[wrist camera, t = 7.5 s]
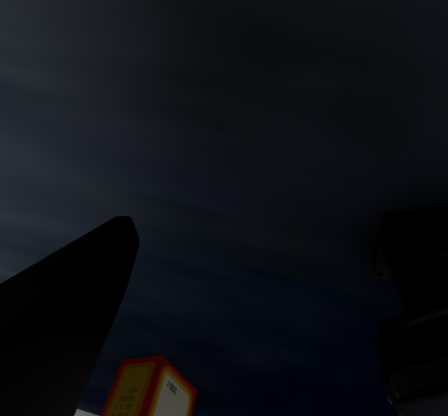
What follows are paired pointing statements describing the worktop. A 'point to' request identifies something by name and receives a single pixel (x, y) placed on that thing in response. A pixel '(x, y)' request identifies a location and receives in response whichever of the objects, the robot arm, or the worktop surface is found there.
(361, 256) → the worktop surface
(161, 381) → the baking soda box
